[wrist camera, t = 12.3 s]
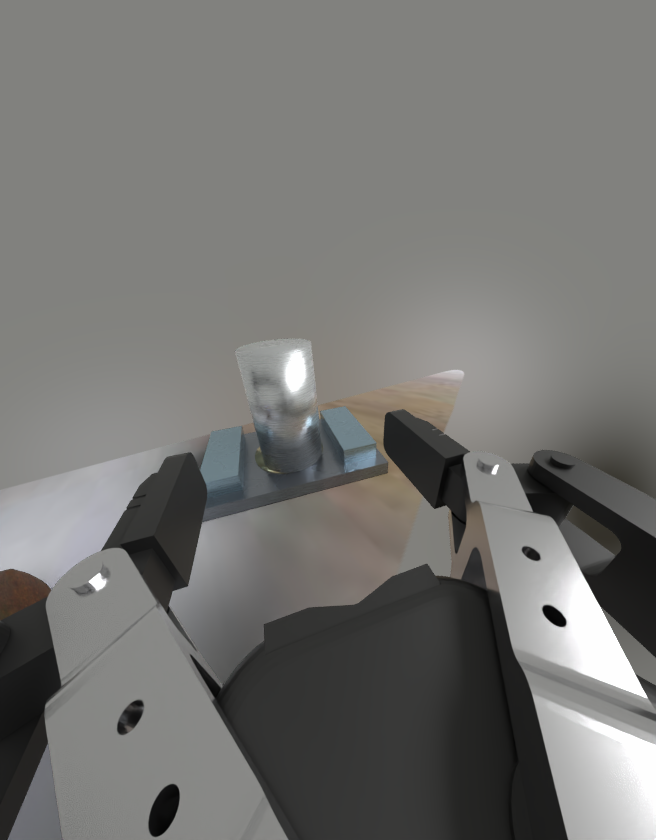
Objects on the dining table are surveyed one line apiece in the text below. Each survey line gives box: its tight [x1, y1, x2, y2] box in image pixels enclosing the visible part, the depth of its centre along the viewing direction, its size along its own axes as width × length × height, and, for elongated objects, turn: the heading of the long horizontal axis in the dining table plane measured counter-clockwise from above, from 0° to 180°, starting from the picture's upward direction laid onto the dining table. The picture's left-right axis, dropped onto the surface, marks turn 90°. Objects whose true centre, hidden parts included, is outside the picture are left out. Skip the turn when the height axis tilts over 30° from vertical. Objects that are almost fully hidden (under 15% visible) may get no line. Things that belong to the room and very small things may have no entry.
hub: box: [235, 339, 322, 473], centre depth 20 cm, size 6×6×10 cm
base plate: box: [200, 406, 388, 522], centre depth 23 cm, size 16×10×3 cm, turn 106°
